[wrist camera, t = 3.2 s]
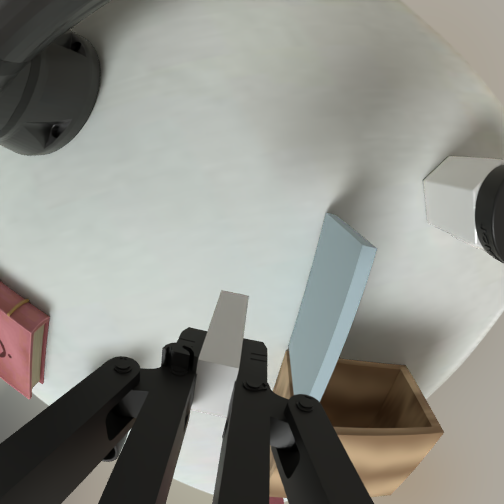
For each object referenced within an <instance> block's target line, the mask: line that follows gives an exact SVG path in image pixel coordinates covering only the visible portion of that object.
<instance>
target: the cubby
mask: <svg viewBox="0 0 504 504" xmlns="http://www.w3.org/2000/svg"><path fill="white" fill-rule="evenodd" d="M273 392H274V393H275V394H277V395H279V396H281V397H284V398H286V399H290V397H292V396H293V395H294V394H293V384H292V375H291V365H290V356H289V351H286V352H285V356H284V359H283V362H282V365H281V368H280V371H279V374H278V377H277V380H276V383H275V386H274V389H273ZM320 403H321V405H322V407H323V409H324V411H325V412H326V414H327V416H328V418H329V420H330V422H331V424H332V426H333V428H334V429H335V431H336V433H337V435H338V437H339V439H340V441H341V443H342V445H343V446H344V448H345V450H346V452H347V454H348V456H349V458H350V460H351V461H352V463H353V465H354V467H355V469H356V471H357V473H358V475H359V476H360V478H361V480H362V482H363V484H364V486H365V488H366V489H367V491H368V493H369V495H370V497H377V496H387V495H391V494H392V493H393V492H394V491H395V490H396V489H397V488H398V487H399V486H400V484H401V483H403V481H404V480H405V479H406V478H407V477H408V476H409V475H410V474H411V473H412V471H413V470H414V469H415V468H416V467H417V466H418V465H419V463H420V462H421V461H422V460H423V459H424V457H425V456H426V455H427V454H428V453H429V451H430V450H431V449H432V448H433V446H434V445H435V444H436V442H437V441H438V440H439V438H440V437H441V436H442V435H443V433H444V431H443V430H442V428H441V426H440V424H439V422H438V421H437V419H436V417H435V415H434V414H433V412H432V410H431V408H430V406H429V404H428V403H427V401H426V399H425V397H424V396H423V394H422V392H421V390H420V389H419V387H418V385H417V384H416V382H415V380H414V378H413V377H412V375H411V373H410V372H409V370H408V368H407V367H406V365H395V364H384V363H374V362H365V361H356V360H348V359H340V358H338V361H337V363H336V366H335V368H334V370H333V373H332V375H331V377H330V380H329V382H328V384H327V387H326V389H325V391H324V393H323V396H322V398H321V400H320ZM269 497H281V498H287V496H286V493H285V490H284V487H283V484H282V481H281V478H280V475H279V472H278V469H277V466H276V463H275V460H274V457H273V453H272V450H271V445H270V495H269Z"/></svg>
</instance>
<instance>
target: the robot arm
mask: <svg viewBox="0 0 504 504" xmlns="http://www.w3.org/2000/svg"><path fill="white" fill-rule="evenodd" d="M110 1H111V0H0V145H1V146H3V147H5V148H7V149H10V150H12V151H14V152H16V153H18V154H21V155H27V156H32V155H45V154H49V153H52V152H55V151H57V150H59V149H60V148H62V147H63V146H65V145H66V144H67V143H68V142H69V141H71V140H72V139H73V138H74V137H75V135H76V134H77V133H78V132H79V131H80V129H81V128H82V127H83V125H84V123H85V122H86V120H87V118H88V117H89V115H90V113H91V111H92V108H93V106H94V103H95V100H96V97H97V93H98V89H99V83H100V64H99V59H98V56H97V53H96V51H95V49H94V47H93V46H92V44H91V43H90V42H89V41H88V40H86V39H85V38H83V37H82V36H80V35H78V34H76V33H74V32H72V31H69V29H71V28H72V27H73V26H75V25H76V24H77V23H79V22H80V21H81V20H83V19H84V18H86V17H87V16H88V15H90V14H91V13H93V12H94V11H96V10H97V9H99V8H100V7H102V6H103V5H105V4H107V3H108V2H110ZM248 298H249V296H247V295H242V294H237V293H233V292H228V291H223V290H221V293H220V296H219V299H218V302H217V305H216V308H215V311H214V314H213V317H212V320H211V323H210V326H209V329H208V331H203V330H198V329H194V328H190V327H188V328H187V329H185V330H184V331H182V333H181V335H180V337H179V339H178V341H177V343H170V344H167V345H165V346H164V348H163V350H162V364H161V367H160V368H156V369H140V366H139V364H138V363H137V362H136V361H135V360H133V359H131V358H128V357H121V356H120V357H114V358H112V359H110V360H108V361H107V362H106V363H104V364H103V365H102V366H101V367H99V368H98V369H97V370H95V371H94V372H93V373H91V374H90V375H89V376H88V377H86V378H85V379H84V380H82V381H81V382H80V383H78V384H77V385H76V386H75V387H73V388H72V389H71V390H69V391H68V392H67V393H66V394H64V395H63V396H62V397H60V398H59V399H58V400H56V401H55V402H54V403H53V404H51V405H50V406H49V407H47V408H46V409H45V410H44V411H42V412H41V413H40V414H38V415H37V416H36V417H35V418H33V419H32V420H31V421H29V422H28V423H27V424H25V425H24V426H23V427H21V428H20V429H19V430H18V431H16V432H15V433H14V434H13V435H11V436H10V437H9V438H7V439H6V440H5V441H3V442H2V443H1V444H0V504H61V503H62V502H63V501H64V500H65V499H66V498H67V497H68V496H69V495H70V494H71V492H73V491H74V489H75V488H76V487H77V486H78V485H79V484H80V483H81V482H82V481H83V480H84V479H85V478H86V477H87V476H88V475H89V473H90V472H92V470H93V469H94V468H95V467H96V466H97V465H98V464H99V463H100V462H101V461H102V460H103V459H104V458H105V456H106V455H107V454H108V453H109V452H110V451H111V450H112V449H113V448H114V447H115V446H116V445H117V443H118V442H119V441H120V440H121V439H122V438H123V437H124V436H125V435H126V434H127V432H128V431H129V430H130V429H131V428H132V429H131V431H130V433H129V435H128V438H127V440H126V442H125V444H124V446H123V449H122V451H121V453H120V455H119V457H118V460H117V462H116V464H115V467H114V469H113V471H112V473H111V475H110V478H109V480H108V482H107V485H106V487H105V489H104V491H103V494H102V496H101V498H100V501H99V503H98V504H166V500H167V496H168V493H169V489H170V486H171V482H172V478H173V475H174V471H175V467H176V464H177V460H178V457H179V453H180V449H181V446H182V442H183V439H184V435H185V432H186V428H187V424H188V421H189V415H190V410H193V411H197V412H201V413H206V414H210V415H215V416H220V417H225V418H227V420H226V424H225V428H224V432H223V436H222V438H223V441H222V447H221V453H220V459H219V466H218V472H217V478H216V484H215V490H214V497H213V503H212V504H269V495H270V445H271V450H272V453H273V457H274V460H275V463H276V466H277V469H278V472H279V475H280V478H281V481H282V484H283V487H284V490H285V493H286V496H287V499H288V502H289V504H374V503H373V501H372V499H371V497H370V495H369V493H368V491H367V489H366V488H365V486H364V484H363V482H362V480H361V478H360V476H359V475H358V473H357V471H356V469H355V467H354V465H353V463H352V461H351V460H350V458H349V456H348V454H347V452H346V450H345V448H344V446H343V445H342V443H341V441H340V439H339V437H338V435H337V433H336V431H335V429H334V428H333V426H332V424H331V422H330V420H329V418H328V416H327V414H326V412H325V411H324V409H323V407H322V405H321V403H320V402H319V401H318V400H317V399H315V398H314V397H312V396H309V395H305V394H297V395H293V396H292V397H290V399H286V398H284V397H281V396H279V395H277V394H275V393H274V392H273V391H272V390H271V389H270V386H269V384H268V383H267V348H266V346H265V345H264V343H263V342H259V341H254V340H249V339H244V338H243V336H244V328H245V321H246V313H247V306H248Z"/></svg>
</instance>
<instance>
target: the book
mask: <svg viewBox="0 0 504 504" xmlns="http://www.w3.org/2000/svg"><path fill="white" fill-rule="evenodd" d="M49 319H50V317H49V316H48V315H46V314H45V313H44V312H42V311H41V310H39V309H38V308H36V307H35V306H33V305H32V304H31V303H29V299H24V298H22V297H21V296H20V295H18V294H17V293H15V292H14V291H13V290H11V289H10V288H9V287H8V286H6V285H5V284H4V283H2V282H1V281H0V377H1V378H2V379H3V380H4V381H6V382H7V383H8V384H9V385H11V386H12V387H13V388H15V389H16V390H17V391H19V392H20V393H21V394H23V395H24V396H25V397H27V398H28V399H31V397H32V388H33V387H34V386H35V385H36V384H37V383H38V382H40V383H41V384H43V383H44V367H45V355H46V344H47V335H48V327H49Z"/></svg>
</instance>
